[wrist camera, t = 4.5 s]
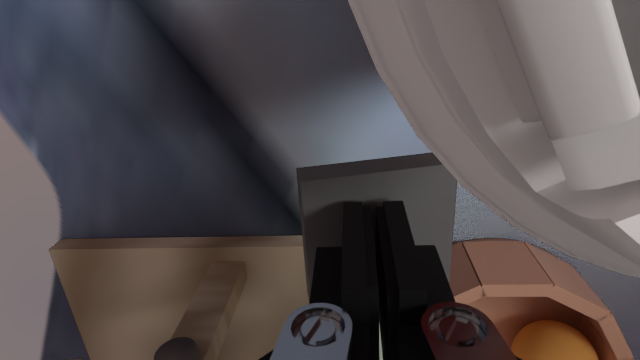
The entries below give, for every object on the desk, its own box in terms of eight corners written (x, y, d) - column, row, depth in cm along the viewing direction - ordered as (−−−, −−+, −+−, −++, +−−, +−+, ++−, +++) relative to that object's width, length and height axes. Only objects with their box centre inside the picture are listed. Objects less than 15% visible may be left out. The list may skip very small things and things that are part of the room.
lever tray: (397, 118, 16) (469, 170, 11) (394, 392, 22) (438, 510, 17) (-97, 169, 14) (-301, 264, 9) (46, 458, 20) (-25, 616, 14)
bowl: (606, 236, 19) (658, 283, 16) (567, 396, 23) (601, 459, 20) (379, 239, 20) (384, 285, 17) (380, 392, 24) (384, 453, 21)
